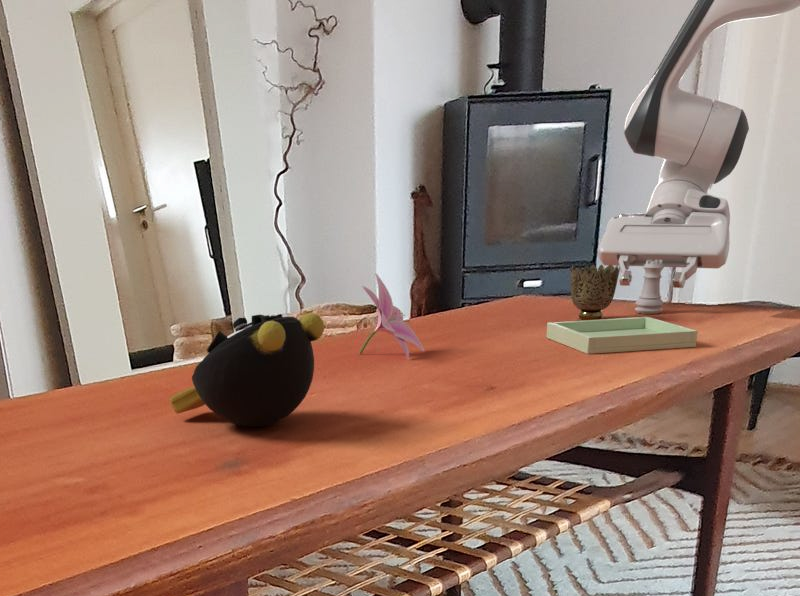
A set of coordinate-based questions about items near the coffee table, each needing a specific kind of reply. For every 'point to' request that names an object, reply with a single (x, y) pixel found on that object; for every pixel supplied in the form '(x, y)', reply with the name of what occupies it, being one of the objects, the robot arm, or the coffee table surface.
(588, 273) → the cup
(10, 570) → the coffee table surface
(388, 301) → the lily
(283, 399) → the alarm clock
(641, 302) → the rook chess piece
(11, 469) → the coffee table surface
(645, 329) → the game tray
